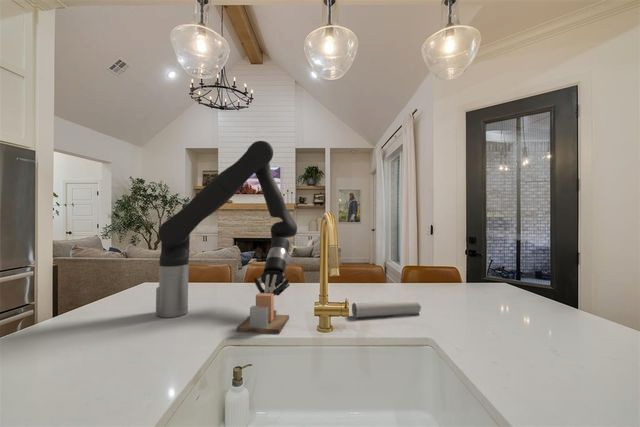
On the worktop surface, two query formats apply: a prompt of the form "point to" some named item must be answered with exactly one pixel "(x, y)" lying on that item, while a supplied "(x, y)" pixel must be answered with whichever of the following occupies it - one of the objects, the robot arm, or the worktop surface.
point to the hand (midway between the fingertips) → (266, 305)
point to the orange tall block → (266, 303)
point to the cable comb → (275, 312)
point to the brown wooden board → (273, 327)
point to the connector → (259, 317)
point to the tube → (385, 308)
